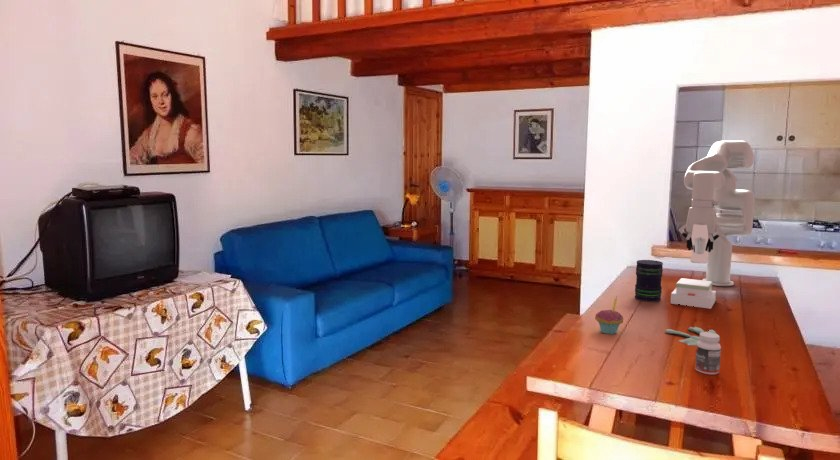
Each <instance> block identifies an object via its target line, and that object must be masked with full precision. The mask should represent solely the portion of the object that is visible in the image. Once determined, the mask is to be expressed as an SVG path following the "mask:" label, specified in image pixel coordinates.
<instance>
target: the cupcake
mask: <svg viewBox="0 0 840 460" xmlns="http://www.w3.org/2000/svg"><path fill="white" fill-rule="evenodd" d="M617 298H618V296H617V295H616V296H615V298H614V301H613V305H612V309H603V310H600V311H598V312H597V313H596V314H595V317H594V318H595V320H596V321H597V322H598V324H599V328H600V332H601V333H603V334H608V335H613V334H614V335H615V334H616V333H617V332H618V329H619V327H620V325H621V324H623V322H624V316H623V315H622V314H621V313H620V312H618V311H616V305H617V300H618V299H617Z"/></svg>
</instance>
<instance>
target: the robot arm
mask: <svg viewBox="0 0 840 460" xmlns="http://www.w3.org/2000/svg"><path fill="white" fill-rule="evenodd" d="M754 160H755V155H754V151H753V148H752V147H751V144H750V143H749V142H747V141H745V140H720V141H719V140H718V141H715V142H714V143H713V144H712V145H711V147H710V149H709V150H708V153H707V156H705V157H703V158H701V159H699V160H696V161H695V162H693V163H692V164H690V165H689V166H688V168H687V170H686V172H685V174H684V178H683V184H684V187H685V188H686V189H687V190H690V191H692V192H691V194H692V195H691V207H689V208H688V213H687V217H686V223H685V224H683V225H681V227H680V228H678V232H679V233H680V234H681V235H682V236H683V237H684V239H685V240H686V249H687V251H692V248H691V240H690V237H691V233H692V229H693V225H694V224H700V225H707V229H708V234H709V238H710V241H709V246H708V250H707V261H708V263H706V270H705V271H706V273H705V275H706V277H705V278H704V277H703V278H702V280H704V281H712V282H713V285H712V286H717V287H730V286H734V281H733V280H731V268H732V255H733V244H732V241H730V239H729V238H728V237H727V236H729V237H731V236H732V237H734V236H735V237H748V236H750V235H751V233H752V232H753V224H754V215H755V214H754V213H755V212H754V211H755V202H756V201H755V194H754V192H753V191H752V190H750V189H739V188H738V189H737V182H738V179H737V176H736V174H735V172H734V171H732V169H749V168H751V167H752V166H753V164H754V163H755V162H754ZM717 211H729V212H740V213H741V214H738V213H723V212H722V213H720V212H718V213H717ZM684 230H685V231H686V232H685V231H684Z"/></svg>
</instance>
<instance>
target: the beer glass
mask: <svg viewBox="0 0 840 460" xmlns="http://www.w3.org/2000/svg"><path fill="white" fill-rule="evenodd" d="M690 240H691V257H690V261H689V262H690V263H692V264H699V265H701V264H702V265H703V264H707V263H708V261H707V256H708V246H709V241H710V238H709V234H708V229H707V225H700V224H694V225H693V229H692V233H691V237H690Z"/></svg>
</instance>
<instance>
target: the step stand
mask: <svg viewBox="0 0 840 460" xmlns="http://www.w3.org/2000/svg"><path fill="white" fill-rule="evenodd" d="M713 286H714V285H713V282H712V281H704V280H701V279H692V278H685V277H684V278H682V277H681V278H680V279H679V280H678V281H677V282H676V283H675V288H674V289H673V291H671V293H670V304H672V305H678V304H680V306H686V305H687V307H693V306H694V307H695V308H701V309H702V308H704V309H709V310H711V309H712V308H713V306H714V304H715V303H716V298H717V297H716V296H717V291H716V290H712V287H713Z"/></svg>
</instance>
